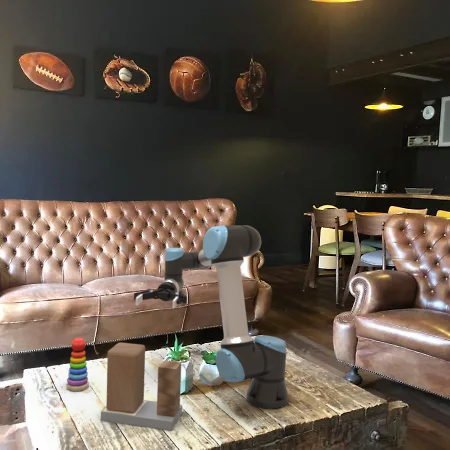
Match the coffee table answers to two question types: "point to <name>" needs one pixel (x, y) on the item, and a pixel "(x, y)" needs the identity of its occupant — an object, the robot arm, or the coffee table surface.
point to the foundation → (142, 416)
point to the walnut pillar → (169, 388)
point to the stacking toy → (78, 367)
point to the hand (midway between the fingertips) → (155, 303)
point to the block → (125, 377)
